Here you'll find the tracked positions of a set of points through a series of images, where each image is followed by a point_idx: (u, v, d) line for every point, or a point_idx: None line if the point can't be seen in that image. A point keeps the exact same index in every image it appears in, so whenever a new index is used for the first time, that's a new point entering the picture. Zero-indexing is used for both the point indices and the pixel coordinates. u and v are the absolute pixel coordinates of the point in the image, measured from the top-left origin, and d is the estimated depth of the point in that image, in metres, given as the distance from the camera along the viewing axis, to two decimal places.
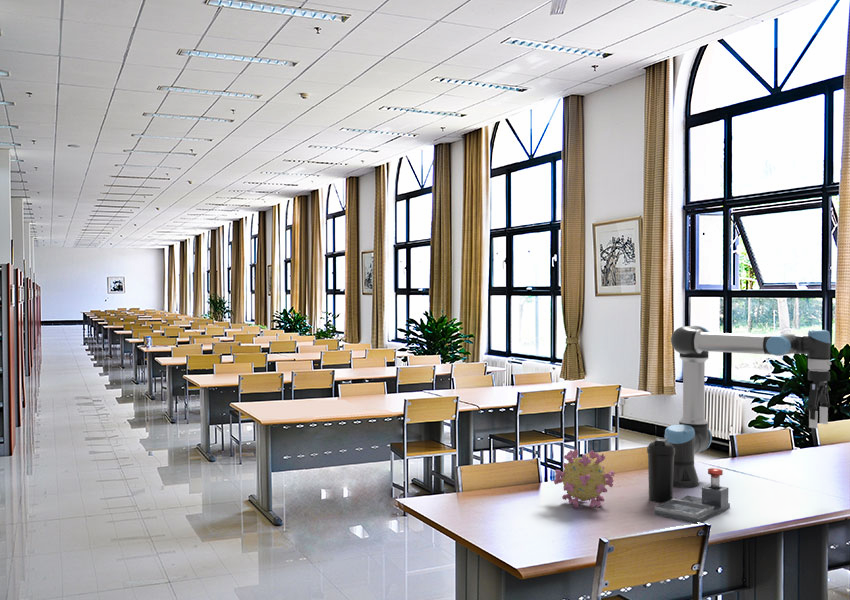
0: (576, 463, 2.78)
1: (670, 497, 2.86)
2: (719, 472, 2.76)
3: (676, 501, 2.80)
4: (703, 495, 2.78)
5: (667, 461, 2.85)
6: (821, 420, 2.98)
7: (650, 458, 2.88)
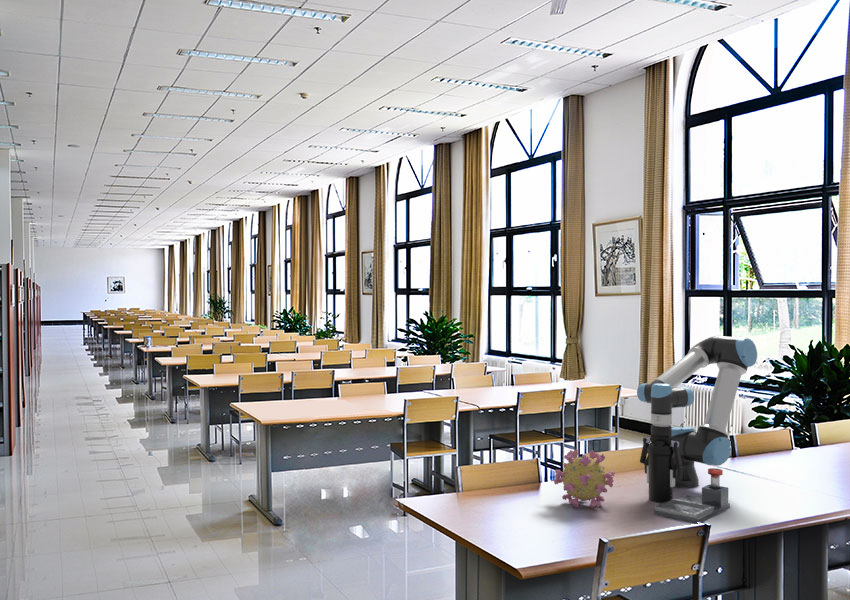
0: (576, 463, 2.78)
1: (670, 497, 2.86)
2: (719, 472, 2.76)
3: (676, 501, 2.80)
4: (703, 495, 2.78)
5: (667, 461, 2.85)
6: None
7: (650, 458, 2.88)
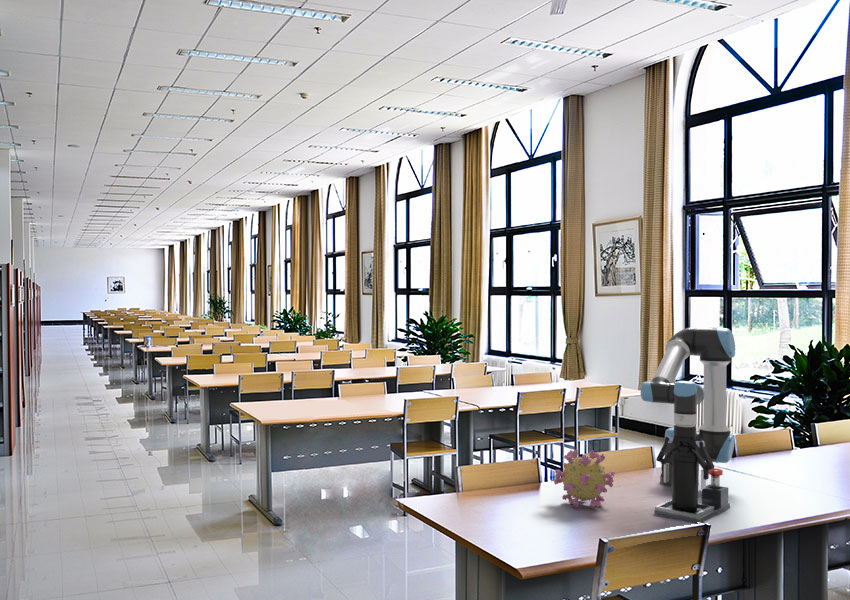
0: (576, 463, 2.78)
1: (695, 507, 2.68)
2: (719, 472, 2.76)
3: None
4: (703, 495, 2.78)
5: (691, 468, 2.66)
6: None
7: (673, 465, 2.69)
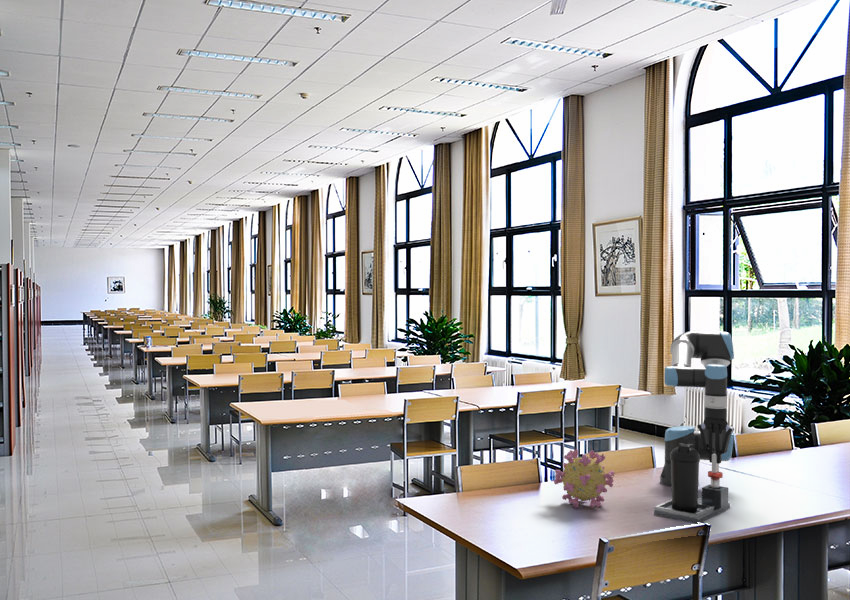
0: (576, 463, 2.78)
1: (695, 507, 2.68)
2: (719, 475, 2.76)
3: None
4: (703, 495, 2.78)
5: (691, 468, 2.66)
6: None
7: (673, 465, 2.69)
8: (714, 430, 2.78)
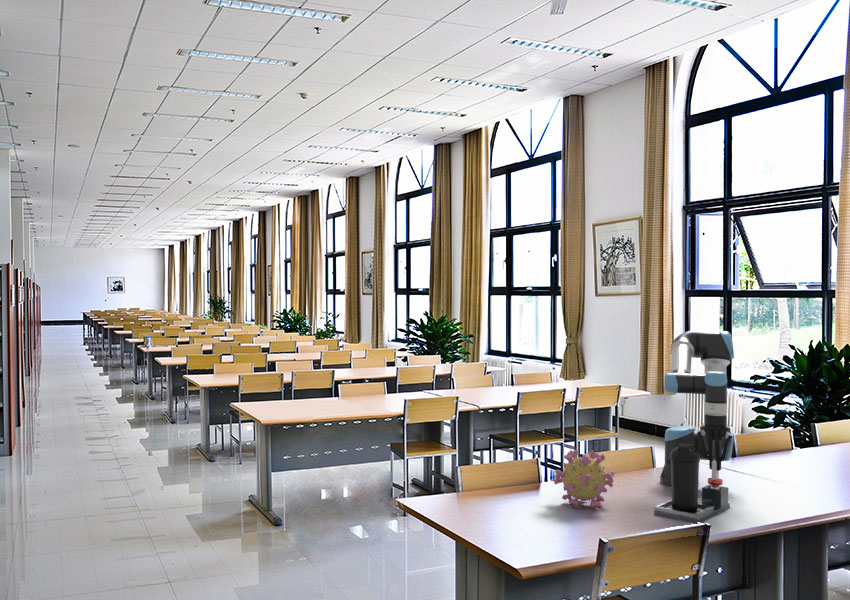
0: (576, 463, 2.78)
1: (695, 507, 2.68)
2: (719, 482, 2.76)
3: None
4: (703, 495, 2.78)
5: (691, 468, 2.66)
6: None
7: (673, 465, 2.69)
8: (714, 437, 2.78)
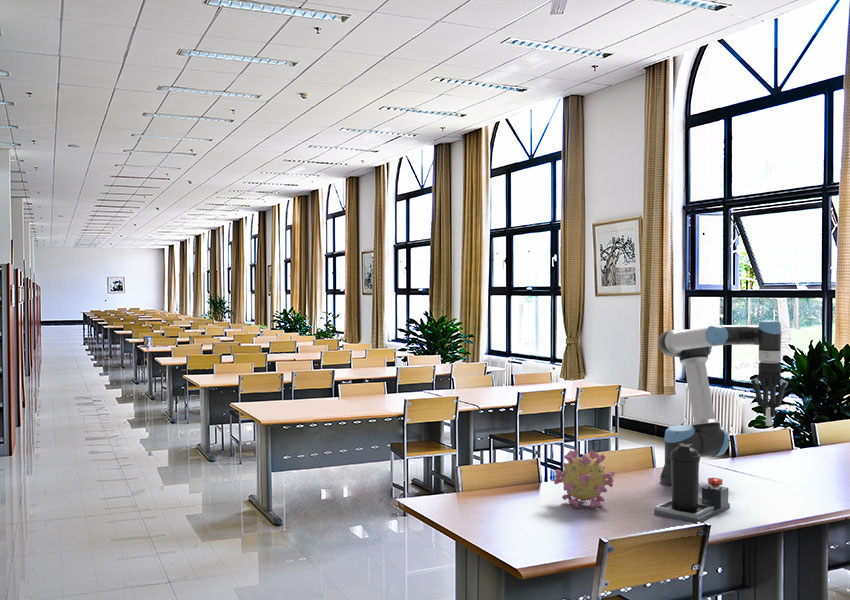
0: (576, 463, 2.78)
1: (695, 507, 2.68)
2: (719, 482, 2.76)
3: None
4: (703, 495, 2.78)
5: (691, 468, 2.66)
6: None
7: (673, 465, 2.69)
8: (768, 384, 2.83)
